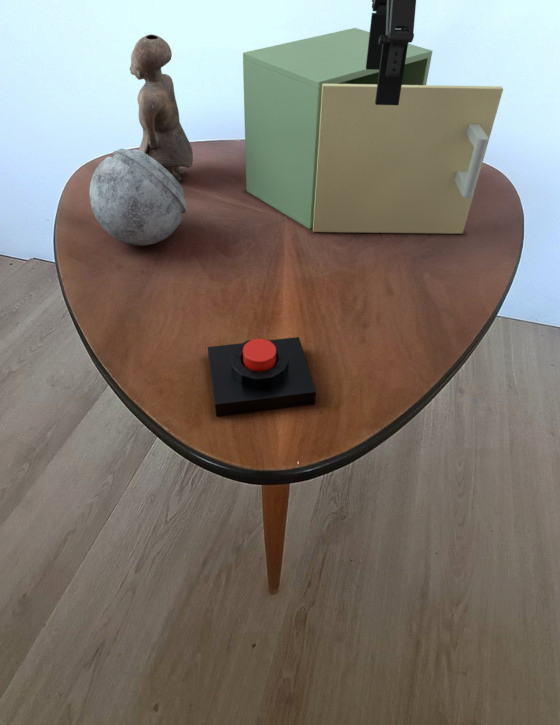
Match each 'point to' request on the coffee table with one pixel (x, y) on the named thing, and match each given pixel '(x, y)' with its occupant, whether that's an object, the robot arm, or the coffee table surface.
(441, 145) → the door
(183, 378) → the coffee table surface
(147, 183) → the decorative orb
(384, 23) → the robot arm
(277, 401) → the button block
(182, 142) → the clay figurine
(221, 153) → the coffee table surface
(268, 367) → the button
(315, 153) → the cupboard
